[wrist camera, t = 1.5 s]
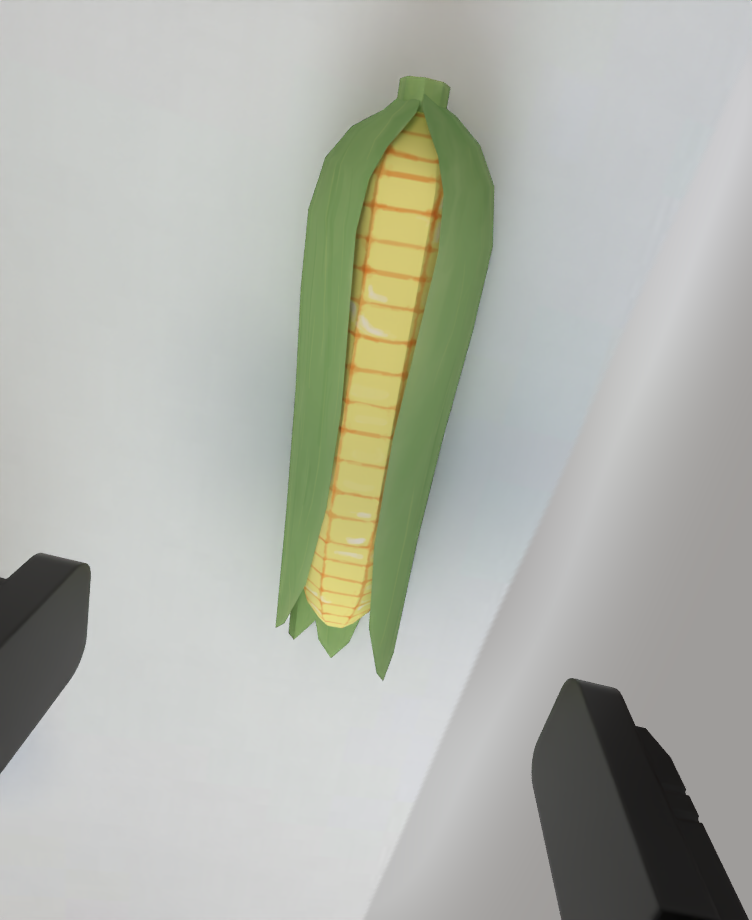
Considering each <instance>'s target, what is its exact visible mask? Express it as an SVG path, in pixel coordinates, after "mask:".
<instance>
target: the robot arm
mask: <svg viewBox="0 0 752 920" xmlns="http://www.w3.org/2000/svg"><path fill="white" fill-rule="evenodd" d="M90 580H91V571H90V567H89V565H88V564H86V563H82V562H78V561H74V560H69V559H65V558H61V557H56V556H52V555H48V554H43V553H38V554H36V555H34V556H33V557H31V558H30V559H29V560H28V561H27V562H26V563H24V564H23V565H22V566H21V567H20V568H19V569H18V570H17V571H15V572H14V573H13V574H12V575H11V576H10V577H9V578H7V579H4V578H0V773H1V772H2V771H3V769H4V768H5V767H6V765H7V764H8V763H9V761H10V760H11V759H12V757H13V756H14V755H15V753H16V752H17V751H18V749H19V748H20V747H21V745H22V744H23V743H24V741H25V740H26V739H27V737H28V736H29V734H30V733H31V732H32V730H33V729H34V728H35V726H36V725H37V724H38V722H39V721H40V720H41V718H42V717H43V716H44V714H45V713H46V712H47V710H48V709H49V708H50V706H51V705H52V704H53V702H54V701H55V700H56V698H57V697H58V695H59V694H60V693H61V691H62V690H63V689H64V687H65V686H66V685H67V683H68V682H69V681H70V679H71V678H72V676H73V675H74V673H75V671H76V669H77V667H78V665H79V663H80V660H81V658H82V655H83V652H84V648H85V644H86V637H87V623H88V609H89V594H90ZM532 784H533V789H534V794H535V798H536V803H537V808H538V812H539V817H540V822H541V826H542V830H543V836H544V840H545V845H546V850H547V854H548V859H549V864H550V868H551V873H552V878H553V882H554V887H555V892H556V896H557V901H558V905H559V910H560V915H561V920H749V919H748V917H747V915H746V913H745V911H744V909H743V907H742V905H741V902H740V900H739V898H738V896H737V894H736V892H735V890H734V888H733V886H732V884H731V882H730V880H729V878H728V876H727V874H726V871H725V869H724V867H723V865H722V863H721V861H720V859H719V857H718V855H717V853H716V851H715V849H714V846H713V844H712V842H711V840H710V838H709V836H708V834H707V832H706V830H705V828H704V826H703V824H702V823H699V821H698V817H699V815H698V813H697V811H696V809H695V807H694V805H693V803H692V801H691V799H690V797H689V796H688V795H686V793H685V791H686V788H685V786H684V784H683V782H682V780H681V778H680V776H679V774H678V772H677V770H676V768H675V766H674V763H673V761H672V759H671V758H670V756H669V755H668V754H667V753H666V752H665V750H664V749H663V748H662V747H661V746H660V745H659V743H658V742H657V741H656V740H655V739H654V738H653V737H652V735H651V734H650V733H649V732H648V730H647V729H646V728H642V727H638V726H635V724H634V721H633V719H632V717H631V715H630V713H629V710H628V708H627V706H626V703H625V701H624V699H623V697H622V695H621V693H620V692H619V691H618V690H617V689H615V688H612V687H608V686H604V685H599V684H595V683H591V682H586V681H582V680H578V679H573V678H570V679H568V680H567V681H566V682H565V683H564V685H563V687H562V688H561V691H560V693H559V695H558V697H557V699H556V702H555V704H554V706H553V708H552V710H551V713H550V715H549V717H548V719H547V721H546V723H545V725H544V728H543V730H542V732H541V734H540V737H539V739H538V741H537V743H536V746H535V749H534V754H533V759H532Z"/></svg>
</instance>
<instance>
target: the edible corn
mask: <svg viewBox="0 0 752 920" xmlns="http://www.w3.org/2000/svg"><path fill="white" fill-rule="evenodd" d="M449 92H450V87H449V86H448V85H447V84H445V83H444V82H441V81H437V80H433V79H429V78H426V77H414V76H406V77H403V78H400V82H399V89H398V96H397V99H395V100H394V101H393V102H392V103H391V104H390V105H388V106H387V107H386V108H385V109H384V110H382V111H380V112H378V113H376V114H374V115H372V116H370V117H369V118H367V119H365V120H363V121H361V122H359V123H357V124H355V125H354V126H352V127H351V128H350V129H349V130H348V131H347V133H346V134H345V135H344V136H343V137H342V138H341V140H340V141H339V142H338V143H337V144H336V145H335V147H334V148H333V149H332V150H331V151H330V153H329V154H328V155H327V156H326V157H325V160H324V163H323V166H322V169H321V172H320V176H319V179H318V182H317V185H316V188H315V191H314V194H313V197H312V200H311V203H310V206H309V209H308V218H307V229H306V239H305V250H304V260H303V271H302V281H301V295H300V314H299V333H298V352H297V372H296V391H295V404H294V417H293V430H292V443H291V456H290V469H289V482H288V495H287V508H286V520H285V531H284V542H283V553H282V563H281V574H280V585H279V596H278V607H277V618H276V627H278V626H280V625H282V624H283V623H285V621H286V619H287V617H288V615H289V614H290V624H289V634H290V635H291V636H292V638H293V639H295V638H296V637H297V636H298V635H300V634H301V633H302V632H303V631H304V630H305V629H306V628H307V627H308V626H310V625H311V624H312V623H313V622H314V621H315V620H316V626H317V632H318V639H319V641H320V642H321V644H322V645H323V647H324V648H325V650H326V651H327V653H328V654H329V656H330V658H332V657H333V656H334V655H335V654H336V653H337V652H339V651H340V650H341V649H342V648H343V647H344V646H346V645H347V644H348V643H349V641H350V639H351V637H352V635H353V633H354V630H355V628H356V626H357V624H358V622H359V620H360V618H361V617H362V616H364V615H365V614H367V613H368V612H369V611H370V620H369V631H370V637H371V643H372V649H373V654H374V660H375V666H376V672H377V674H378V675H379V677H380V678H381V679H382V680H384V677H385V674H386V672H387V669H388V666H389V664H390V661H391V658H392V655H393V653H394V648H395V643H396V639H397V634H398V629H399V625H400V620H401V615H402V610H403V606H404V601H405V596H406V592H407V587H408V582H409V578H410V573H411V568H412V563H413V559H414V554H415V549H416V545H417V540H418V536H419V532H420V528H421V524H422V520H423V516H424V512H425V508H426V504H427V500H428V496H429V492H430V488H431V484H432V480H433V476H434V472H435V468H436V464H437V460H438V456H439V452H440V448H441V444H442V440H443V436H444V432H445V429H446V425H447V422H448V418H449V415H450V411H451V407H452V404H453V400H454V397H455V393H456V389H457V386H458V382H459V379H460V375H461V371H462V368H463V364H464V361H465V357H466V353H467V350H468V346H469V343H470V339H471V336H472V332H473V328H474V324H475V320H476V315H477V311H478V307H479V303H480V298H481V294H482V290H483V286H484V281H485V277H486V273H487V269H488V264H489V260H490V256H491V252H492V247H493V215H494V185H493V182H492V179H491V176H490V173H489V170H488V167H487V164H486V161H485V158H484V155H483V152H482V149H481V146H480V145H479V144H478V142H477V141H476V140H475V139H474V138H473V136H472V135H471V134H470V133H469V132H468V130H467V129H466V127H465V126H464V125H463V124H462V123H461V122H460V120H459V119H458V118H457V117H456V116H455V115H454V114H452V113H451V112H450V111H449V110H447V103H448V98H449Z"/></svg>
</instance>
